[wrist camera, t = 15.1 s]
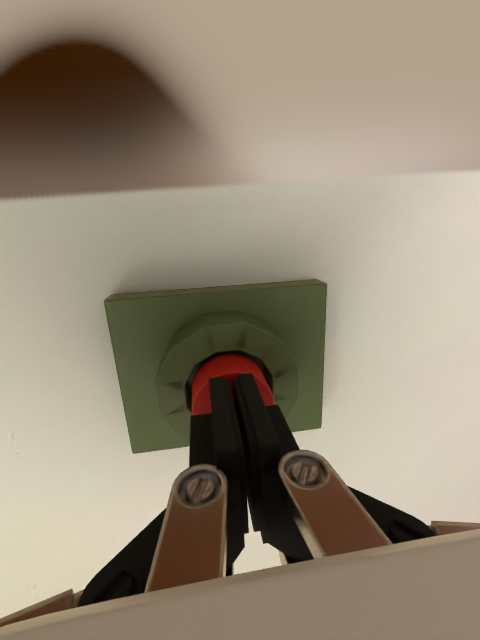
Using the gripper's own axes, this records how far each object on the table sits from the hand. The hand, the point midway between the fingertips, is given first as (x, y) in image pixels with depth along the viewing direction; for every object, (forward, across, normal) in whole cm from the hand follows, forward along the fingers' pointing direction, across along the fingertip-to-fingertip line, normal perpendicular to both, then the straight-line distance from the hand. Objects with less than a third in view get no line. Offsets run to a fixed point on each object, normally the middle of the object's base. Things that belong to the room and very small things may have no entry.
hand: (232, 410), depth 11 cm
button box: (+4, 0, 0) cm, 5 cm away
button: (+2, 0, 0) cm, 2 cm away
